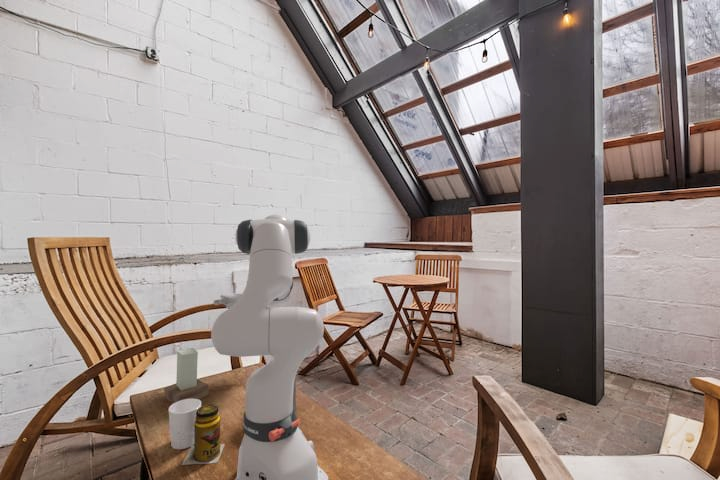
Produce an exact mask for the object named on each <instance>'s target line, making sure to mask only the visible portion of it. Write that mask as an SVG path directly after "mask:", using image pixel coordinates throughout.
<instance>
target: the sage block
mask: <svg viewBox="0 0 720 480" xmlns="http://www.w3.org/2000/svg"><path fill="white" fill-rule="evenodd" d="M176 353H177V355H176V380H175V381H176V382H175V384H176V385H177V386H178V388H179V389H180V390H185V389H188V388H192V387H196V386H197V380H198V354H199V352H198V351H197V350H196V349H195V348H194V347H191V348H186V349H180V350H177V352H176Z"/></svg>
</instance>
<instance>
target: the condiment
mask: <svg viewBox="0 0 720 480" xmlns="http://www.w3.org/2000/svg"><path fill="white" fill-rule="evenodd" d="M219 410H220V409H219V406H217V405H216V404H211V403H209V404H205V405H201V407H200V408H199V409H198V410H197V411H196V421H195V424H194V432H195V434H194V435H195V442H194V443H195V444H194V445H193V446H191V447H190V448H189V451H188V452H187V454H186V456H185V458H184V459H183V461H182V462H181V466H187V465H203V464H205V465H206V464H216V463H218V462H219V459H220V458H221V455H222V452H223V450H224V448H225V445H226V443H221V417H220V412H219Z"/></svg>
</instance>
